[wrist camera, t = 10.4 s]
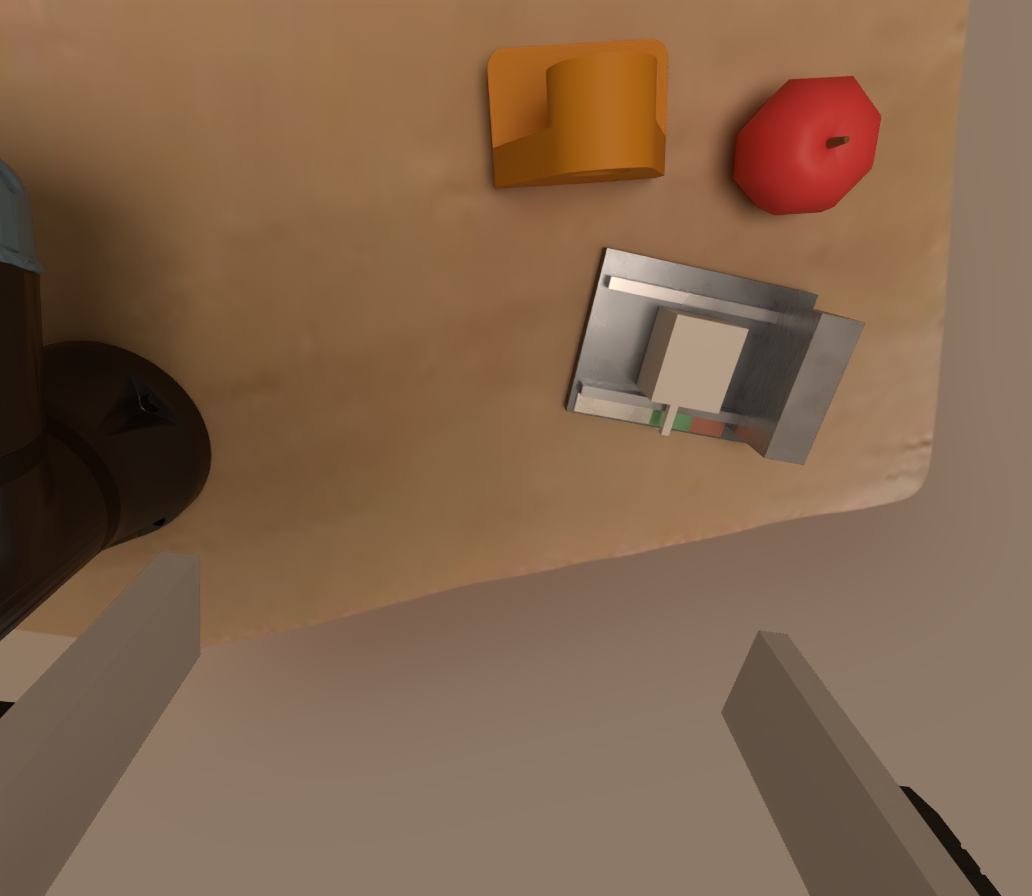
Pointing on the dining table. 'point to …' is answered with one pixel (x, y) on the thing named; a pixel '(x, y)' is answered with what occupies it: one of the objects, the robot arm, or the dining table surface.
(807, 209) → the apple
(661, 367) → the cream block with peg
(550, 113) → the bracket
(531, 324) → the dining table surface
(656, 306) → the gauge base
